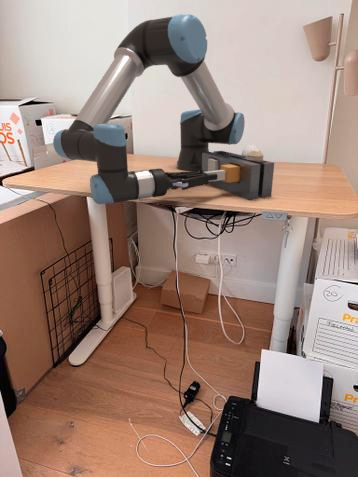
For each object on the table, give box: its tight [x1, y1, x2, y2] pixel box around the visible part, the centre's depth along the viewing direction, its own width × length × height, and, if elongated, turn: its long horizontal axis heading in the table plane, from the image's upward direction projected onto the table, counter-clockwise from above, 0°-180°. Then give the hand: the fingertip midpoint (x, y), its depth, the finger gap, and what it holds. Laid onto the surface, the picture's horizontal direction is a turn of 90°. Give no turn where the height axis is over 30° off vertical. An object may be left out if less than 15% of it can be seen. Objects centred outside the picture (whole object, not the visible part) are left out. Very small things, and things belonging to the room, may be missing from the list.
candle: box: [248, 150, 264, 160], centre depth 121 cm, size 6×6×10 cm
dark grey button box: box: [202, 150, 275, 201], centre depth 108 cm, size 8×28×10 cm, turn 26°
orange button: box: [221, 164, 240, 183], centre depth 101 cm, size 4×4×4 cm
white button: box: [208, 158, 219, 171], centre depth 112 cm, size 4×4×4 cm
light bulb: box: [241, 143, 260, 157], centre depth 130 cm, size 7×7×11 cm
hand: (223, 174), depth 100 cm, fingers closed
